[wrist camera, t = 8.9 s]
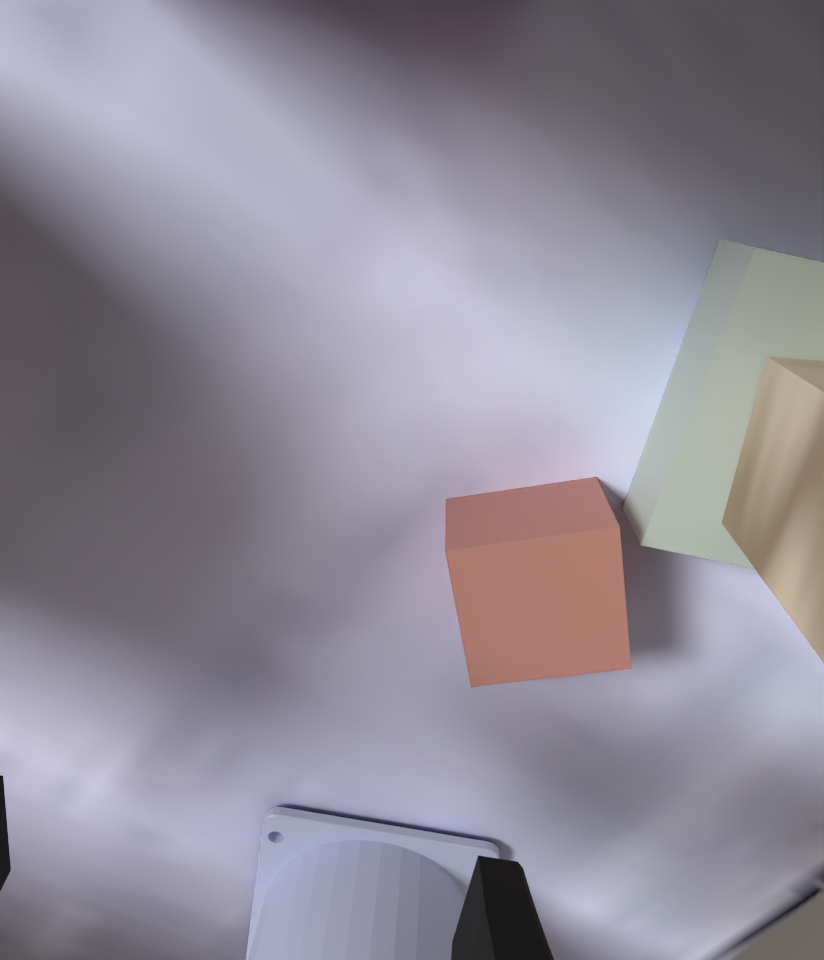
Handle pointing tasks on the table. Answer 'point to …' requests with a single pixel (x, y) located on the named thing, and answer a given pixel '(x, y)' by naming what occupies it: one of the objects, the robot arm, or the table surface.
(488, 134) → the table surface
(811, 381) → the beech block
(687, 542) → the base block
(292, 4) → the table surface
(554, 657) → the block
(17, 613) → the table surface
